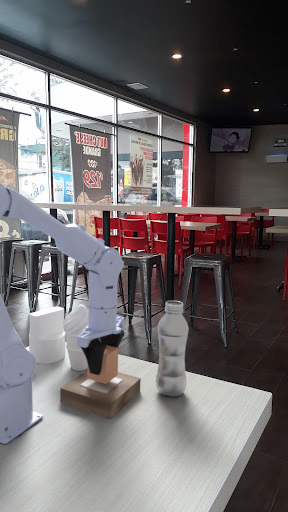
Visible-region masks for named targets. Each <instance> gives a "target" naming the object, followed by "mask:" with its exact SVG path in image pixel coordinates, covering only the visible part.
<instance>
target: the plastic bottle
mask: <svg viewBox="0 0 288 512" xmlns="http://www.w3.org/2000/svg"><path fill="white" fill-rule="evenodd" d="M164 312H165V313H164V314H163V316H162V317H161V318H160V320H159V321H158V324H157V334H158V335H157V336H158V344H159V345H158V347H159V357H158V366H157V372H156V374H155V385H156V389H157V390H158V392H159V393H160V394H161V395H164V396H166V397H173V398H174V397H179V396H182V395H183V393H184V392H185V391H186V388H187V383H188V381H187V374H186V362H185V357H186V346H187V341H188V334H189V325H188V322H187V320H186V318H185V317H184V316H183V313H184V302H182V301H180V300H167V301H166V302H165V307H164Z"/></svg>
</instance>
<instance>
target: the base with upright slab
mask: <svg viewBox="0 0 288 512" xmlns="http://www.w3.org/2000/svg"><path fill="white" fill-rule="evenodd" d="M28 314H29V318H28V319H29V333H28V343H29V344H28V347H29V348H28V351H29V352H31V353H32V354H33V355H34V357H35V360H36V364H53V363H57V362H60V361H62V360H64V358H65V357H66V335H65V329H64V327H63V325H64V324H63V321H64V320H65V308H63V307H61V306H53V307H49V308H45V309H41V310H37V311H34V312H30V313H28Z"/></svg>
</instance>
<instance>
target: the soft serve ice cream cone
mask: <svg viewBox="0 0 288 512" xmlns="http://www.w3.org/2000/svg"><path fill="white" fill-rule="evenodd" d="M63 324H64V325H63V327H64V331H65V349H67V354H68V359H69V364H70V368H71V369H72V370H73V371H77V372H79V371H80V372H81V371H87V370H88V363H87V359H86V357H85V354H84V352H83V350H82V349H81V347H80V346H77V336H79V335H80V334H81V333H82V332H83V331H84V329H85V328H86V327H87V326H88V308H87V306H86V305H84V304H81V303H80V304H79V305H78V306H77V308H76V309H74V310H72V311H71V312H69V313H68V314H67V315H66V316H64V321H63Z"/></svg>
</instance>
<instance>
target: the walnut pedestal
mask: <svg viewBox="0 0 288 512" xmlns="http://www.w3.org/2000/svg"><path fill="white" fill-rule="evenodd" d="M87 374H88V369H86V370H84V371H83V372H82V373H80V374H79V375H77V377H74V378H73V379H72V380H70V381H68V382H67V383H66V384H64V385H63V386H61V387H60V389H59V395H60V397H59V398H60V399H59V400H60V402H61V403H62V404H63V403H64V405H65V404H66V405H68V406H71V407H74V408H77V409H80V410H84V411H87V412H90V413H92V414H95V415H98V416H102V417H105V418H108V419H112V418H113V417H115V415H116V414H118V413H119V412H120V411H121V410H122V409H123V408H124V407H125V406H126V405H127V404H128V403H129V402H130V401H132V399H134V398H135V396H137V395H139V393H141V382H142V381H141V378H140V377H137V376H134V375H131V374H126V373H123V372H119V371H118V375H117V376H116V377H114V378H113V379H112V380H111V381H109V382H108V383H107V384H104V383H101V382H98V381H94V380H91V379H88V378H87Z"/></svg>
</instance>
